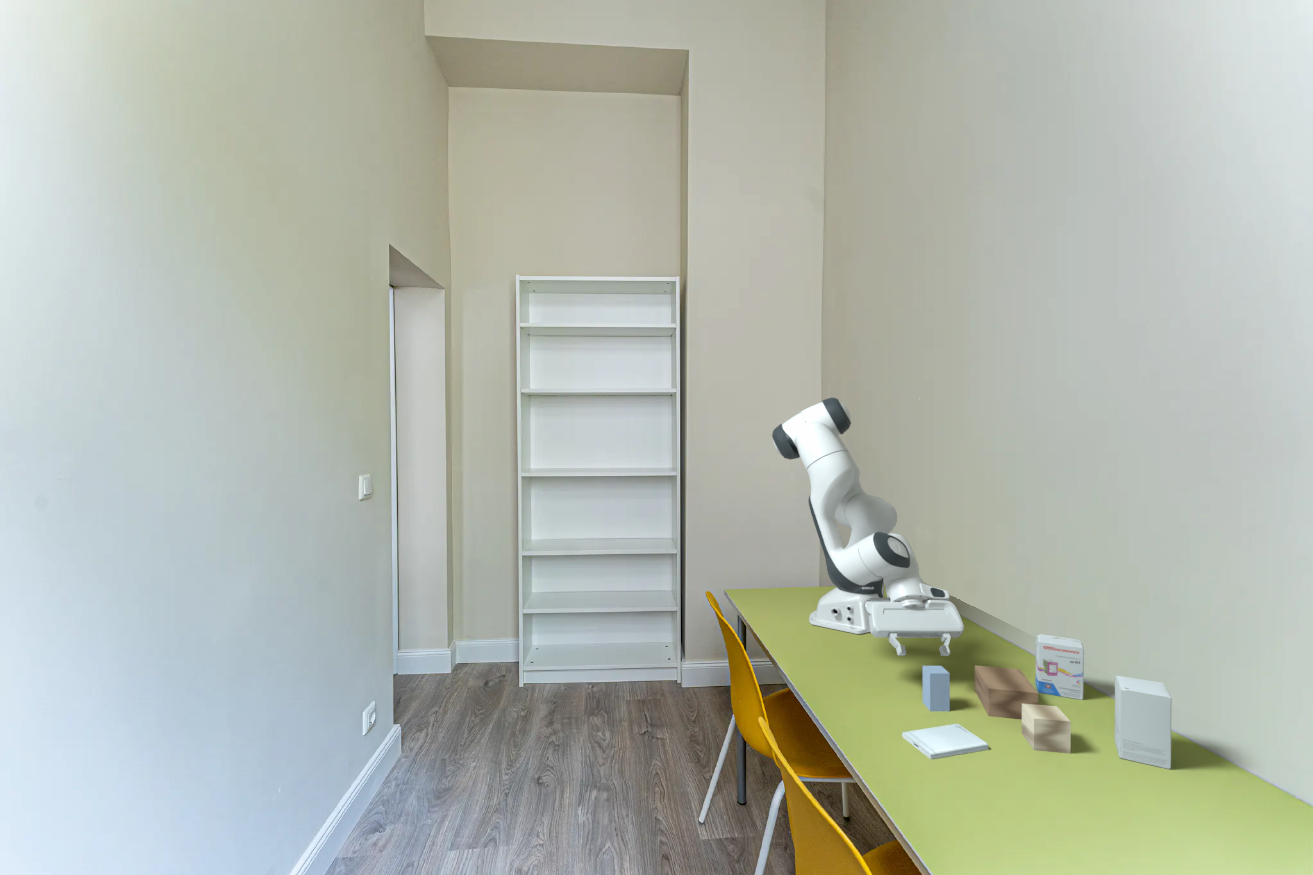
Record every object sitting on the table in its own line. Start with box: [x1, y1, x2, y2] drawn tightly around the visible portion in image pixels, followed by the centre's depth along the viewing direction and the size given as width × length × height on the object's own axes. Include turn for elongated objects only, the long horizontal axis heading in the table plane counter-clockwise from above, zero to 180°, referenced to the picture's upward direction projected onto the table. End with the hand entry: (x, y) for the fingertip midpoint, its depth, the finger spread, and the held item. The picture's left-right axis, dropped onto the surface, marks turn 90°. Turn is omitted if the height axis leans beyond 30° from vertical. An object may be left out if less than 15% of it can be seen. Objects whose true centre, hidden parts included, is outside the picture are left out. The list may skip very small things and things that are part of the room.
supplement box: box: [1114, 675, 1173, 770], centre depth 109 cm, size 7×7×13 cm
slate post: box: [922, 665, 951, 712], centre depth 129 cm, size 4×4×8 cm
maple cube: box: [1021, 704, 1072, 754], centre depth 114 cm, size 6×6×6 cm
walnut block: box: [974, 665, 1039, 721], centre depth 129 cm, size 9×12×6 cm
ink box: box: [1035, 633, 1085, 701], centre depth 134 cm, size 9×5×12 cm, turn 62°
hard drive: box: [901, 723, 989, 760], centre depth 114 cm, size 2×8×12 cm
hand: (924, 654), depth 134 cm, fingers open, 8 cm apart
